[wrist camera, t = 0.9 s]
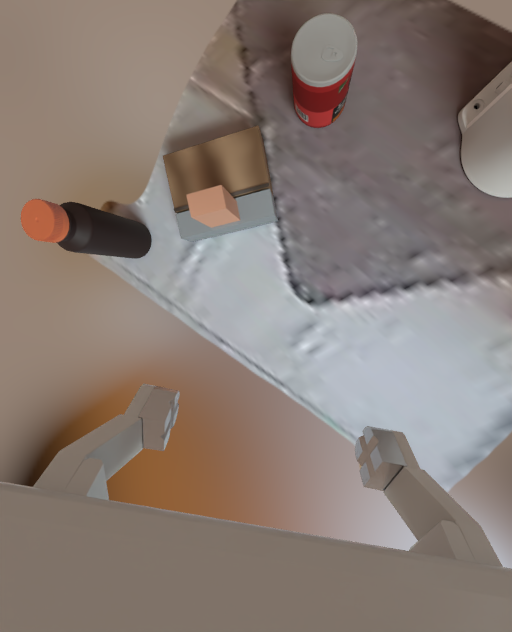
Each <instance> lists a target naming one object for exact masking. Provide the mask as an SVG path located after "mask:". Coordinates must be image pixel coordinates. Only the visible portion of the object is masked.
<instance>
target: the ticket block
mask: <svg viewBox="0 0 512 632" xmlns="http://www.w3.org/2000/svg"><path fill="white" fill-rule="evenodd" d="M163 159H164V164H165V168H166V173H167V177H168V182H169V186H170V191H171V195H172V200H173V204H174V211H175V212H176V213H182V212H185V211H189V205H188V201H187V196H186V195H187V194H190V193H194V192H198V191H201V190H205V189H208V188H212V187H215V186H219V185H222V186H223V187H224V188H225V189H226V190H227V191H228V192H229V193H230V195H231V196H232V197H233V198H237V197H241V196H245V195H249V194H252V193H256V192H260V191H263V190H267V189H270V190H271V192H272V195H273V191H272V186H271V180H270V175H269V169H268V164H267V158H266V153H265V147H264V142H263V138H262V135H261V132H260V129H259V126H255V127H252V128H249V129H245V130H242V131H239V132H236V133H233V134H230V135H227V136H223V137H220V138H217V139H214V140H211V141H208V142H205V143H202V144H198V145H195V146H192V147H189V148H186V149H183V150H180V151H176V152H173V153H170V154H167V155H164V156H163Z"/></svg>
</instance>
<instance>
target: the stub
mask: <svg viewBox="0 0 512 632" xmlns="http://www.w3.org/2000/svg"><path fill="white" fill-rule="evenodd" d="M186 196H187V201H188V205H189V211H185V212H182V213H178V214H176V218H177V222H178V227H179V231H180V236H181V239H185V240H188V241H191V242H194V241H198V240H202V239H207V238H211V237H215V236H219V235H223V234H227V233H231V232H235V231H239V230H244V229H248V228H252V227H256V226H260V225H264V224H268V223H272V222H276V221H278V219H277V213H276V208H275V202H274V197H273V195H272V192H271V190H270V189H267V190H263V191H260V192H256V193H252V194H249V195H245V196H241V197H237V198H233V197H232V196H231V195H230V193H229V192H228V191H227V190H226V189H225V188H224V187H223V186H222V185H219V186H215V187H212V188H208V189H205V190H201V191H198V192H194V193H190V194H187V195H186Z"/></svg>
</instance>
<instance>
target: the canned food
mask: <svg viewBox="0 0 512 632" xmlns="http://www.w3.org/2000/svg"><path fill="white" fill-rule="evenodd" d="M356 53H357V36H356V33H355V30H354V28H353V26H352V25H351V24H350V22H349V21H348V20H347V19H345V18H344V17H342V16H340V15H337V14H332V13H325V14H320V15H317V16H315V17H313V18H311V19H309V20H308V21H307V22H305V23H304V24H303V25H302V26H301V28H300V29H299V30H298V32H297V33H296V35H295V38H294V40H293V44H292V49H291V68H292V81H293V94H294V105H295V110H296V113H297V115H298V117H299V118H300V120H301V121H302V122H303V123H305V124H306V125H308V126H310V127H314V128H321V127H325V126H327V125H330V124H331V123H333V122H334V121H335V120H336V119H337V118H338V117H339V115H340V114H341V113H342V111H343V109H344V106H345V102H346V98H347V94H348V89H349V85H350V81H351V76H352V72H353V68H354V64H355V58H356Z"/></svg>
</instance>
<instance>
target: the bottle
mask: <svg viewBox="0 0 512 632" xmlns="http://www.w3.org/2000/svg"><path fill="white" fill-rule="evenodd" d="M21 222H22V226H23V228H24V231H25V232H26V234H28V236H30V237H31V238H33V239H34V240H38V241H45V242H53V243H55V242H56V243H58V244H59V245H60V246H61V247H62V248H64V249H65V250H67V251H72V252H78V253H87V254H97V255H106V256H116V257H125V258H141V257H143V256H145V255H146V254H147V253H148V251H149V249H150V247H151V235H150V233H149V231H148V229H147V228H146V227H145V226H144V225H142V224H141V223H139V222H136V221H132V220H129V219H126V218H123V217H120V216H117V215H114V214H111V213H107V212H104V211H101V210H98V209H95V208H91V207H89V206H86V205H82V204H79V203H75V202H67V203H63V204H61V205H58V204H54V203H51V202H48V201H44V200H40V199H34V200H31V201H29V202H27V203H26V204H25V206H24V207H23V209H22V212H21Z"/></svg>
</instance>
